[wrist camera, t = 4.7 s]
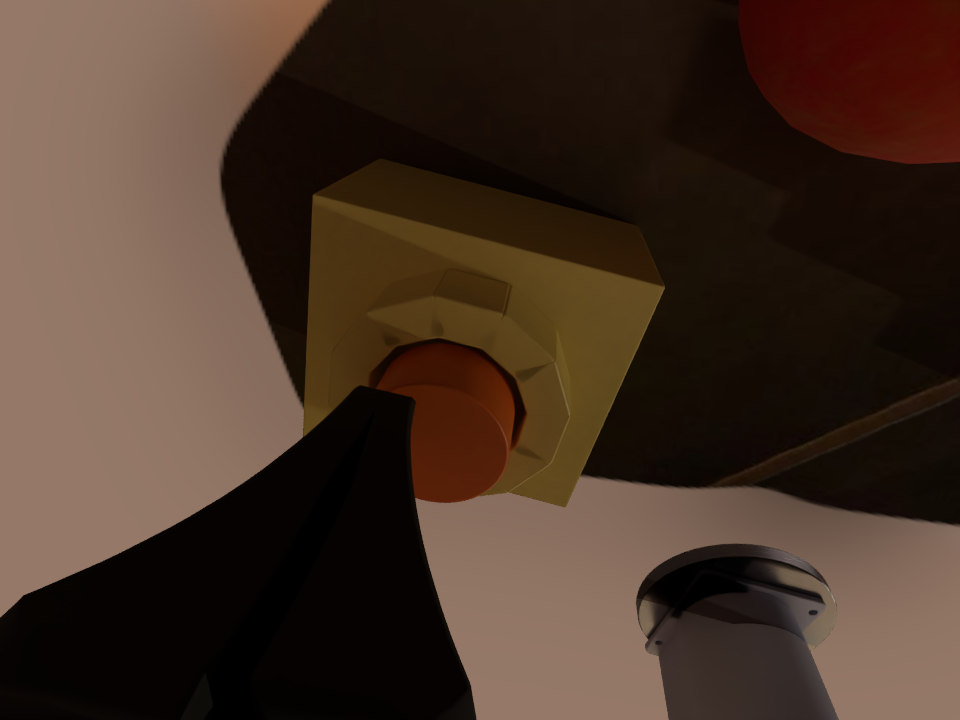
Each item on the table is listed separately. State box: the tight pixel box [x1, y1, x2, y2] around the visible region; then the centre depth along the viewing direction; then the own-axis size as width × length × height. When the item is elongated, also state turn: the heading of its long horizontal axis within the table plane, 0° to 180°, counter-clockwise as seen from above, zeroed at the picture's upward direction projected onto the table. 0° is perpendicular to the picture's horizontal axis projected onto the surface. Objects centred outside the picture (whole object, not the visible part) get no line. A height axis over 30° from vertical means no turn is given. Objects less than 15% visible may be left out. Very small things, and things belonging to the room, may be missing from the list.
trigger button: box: [376, 343, 515, 503], centre depth 14 cm, size 4×4×2 cm
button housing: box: [303, 159, 665, 507], centre depth 18 cm, size 9×10×8 cm
